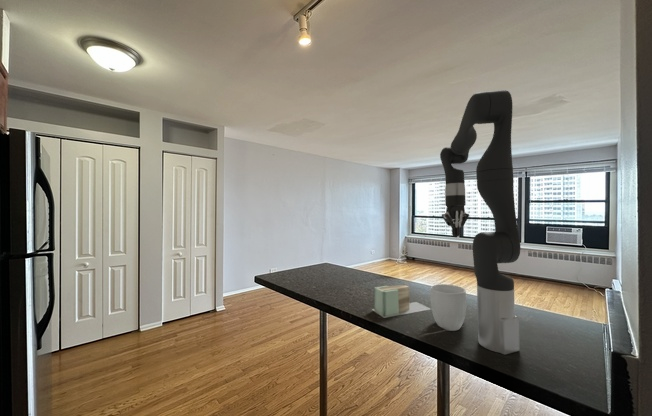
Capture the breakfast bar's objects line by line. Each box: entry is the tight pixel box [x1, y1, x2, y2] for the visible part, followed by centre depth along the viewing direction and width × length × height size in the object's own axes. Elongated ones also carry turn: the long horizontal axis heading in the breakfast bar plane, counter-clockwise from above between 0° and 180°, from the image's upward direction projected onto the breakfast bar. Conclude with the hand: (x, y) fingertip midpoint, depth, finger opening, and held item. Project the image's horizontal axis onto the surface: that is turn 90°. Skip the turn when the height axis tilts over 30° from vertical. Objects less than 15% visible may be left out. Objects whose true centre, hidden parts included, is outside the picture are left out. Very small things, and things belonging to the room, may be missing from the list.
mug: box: [430, 283, 468, 332], centre depth 91 cm, size 15×11×13 cm
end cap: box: [373, 285, 399, 316], centre depth 102 cm, size 7×7×9 cm
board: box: [371, 301, 431, 319], centre depth 105 cm, size 9×22×1 cm, turn 110°
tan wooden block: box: [379, 284, 410, 311], centre depth 104 cm, size 4×12×9 cm, turn 110°
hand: (456, 236), depth 109 cm, fingers closed
